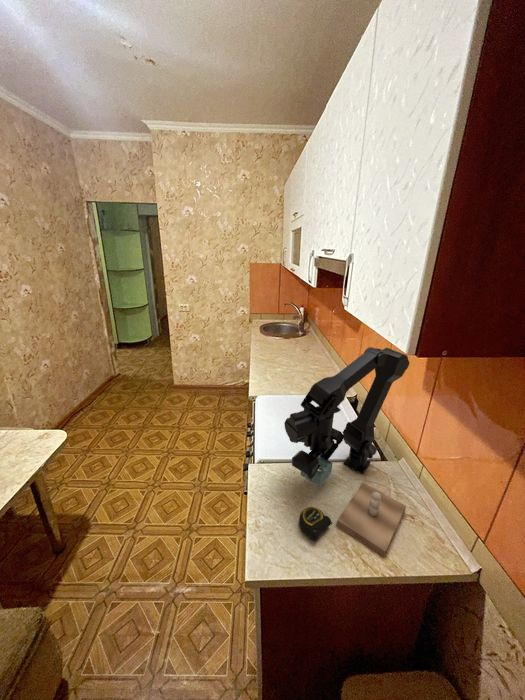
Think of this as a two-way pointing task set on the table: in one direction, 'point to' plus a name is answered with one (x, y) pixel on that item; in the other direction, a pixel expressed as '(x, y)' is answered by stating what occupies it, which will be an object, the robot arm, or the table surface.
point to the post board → (372, 518)
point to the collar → (323, 474)
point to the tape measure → (313, 522)
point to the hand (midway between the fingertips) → (316, 471)
